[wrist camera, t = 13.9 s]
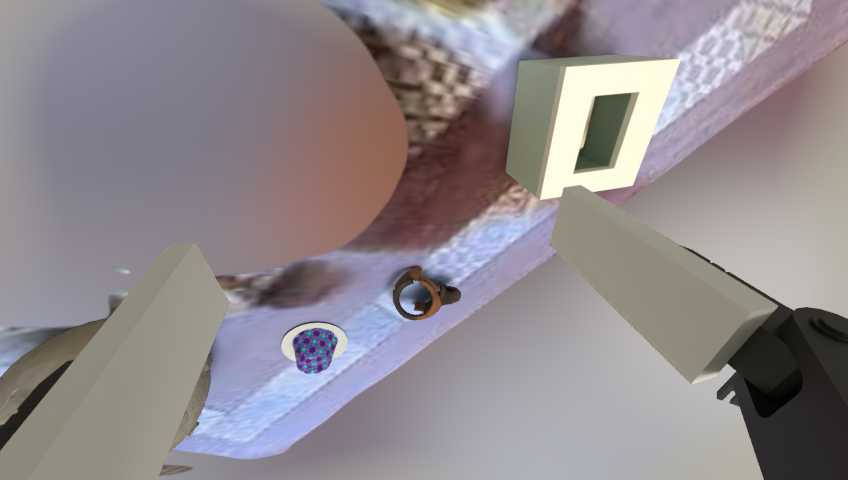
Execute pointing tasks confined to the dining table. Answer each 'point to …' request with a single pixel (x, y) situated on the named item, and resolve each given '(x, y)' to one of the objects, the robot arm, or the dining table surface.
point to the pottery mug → (438, 297)
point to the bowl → (42, 361)
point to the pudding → (314, 346)
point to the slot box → (567, 114)
